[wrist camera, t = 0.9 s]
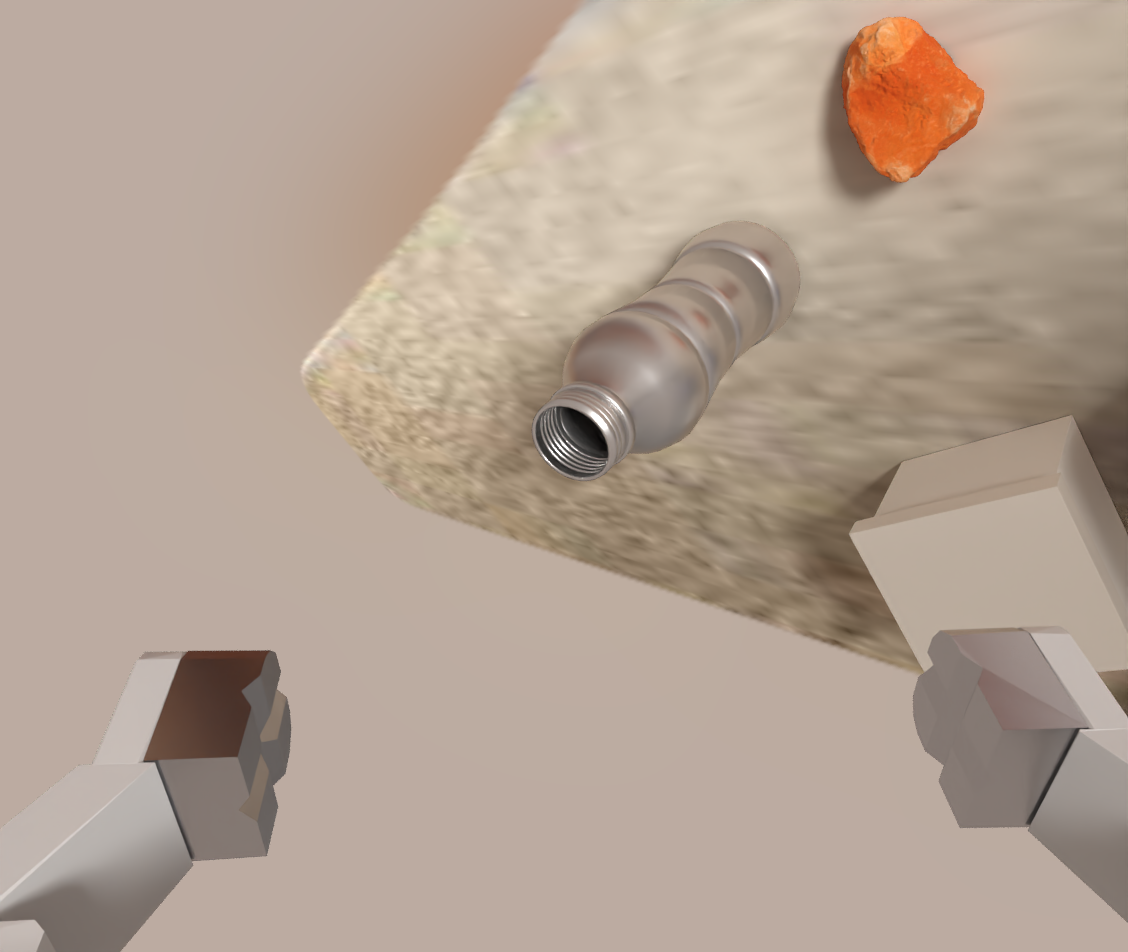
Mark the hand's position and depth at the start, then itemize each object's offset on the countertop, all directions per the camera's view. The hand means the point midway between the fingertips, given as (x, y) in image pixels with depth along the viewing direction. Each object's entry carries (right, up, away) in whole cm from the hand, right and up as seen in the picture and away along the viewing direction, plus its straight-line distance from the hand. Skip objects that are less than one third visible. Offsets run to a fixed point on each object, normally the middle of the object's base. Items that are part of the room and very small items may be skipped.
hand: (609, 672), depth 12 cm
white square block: (+24, +1, +39) cm, 46 cm away
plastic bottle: (+10, +14, +40) cm, 43 cm away
